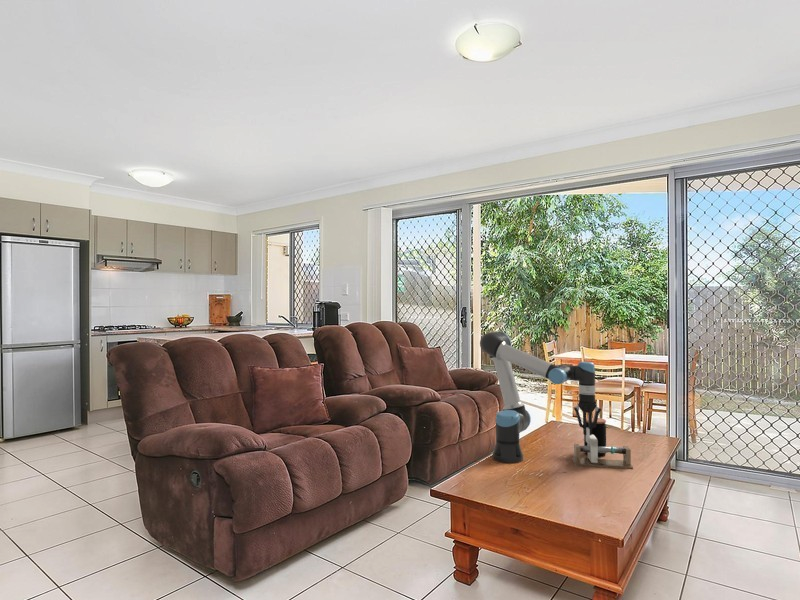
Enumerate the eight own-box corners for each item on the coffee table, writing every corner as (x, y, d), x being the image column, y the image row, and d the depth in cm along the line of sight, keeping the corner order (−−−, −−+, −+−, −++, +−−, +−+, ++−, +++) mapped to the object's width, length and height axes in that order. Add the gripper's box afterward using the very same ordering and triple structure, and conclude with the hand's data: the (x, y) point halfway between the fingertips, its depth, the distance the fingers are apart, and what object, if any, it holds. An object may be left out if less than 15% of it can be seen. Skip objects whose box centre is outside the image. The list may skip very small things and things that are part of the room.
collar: (591, 462, 244) (591, 439, 245) (587, 456, 254) (587, 434, 254) (597, 462, 244) (597, 439, 244) (593, 456, 254) (593, 434, 254)
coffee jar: (602, 451, 270) (602, 417, 270) (608, 457, 259) (608, 422, 259) (582, 451, 271) (581, 417, 271) (587, 456, 260) (587, 421, 260)
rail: (575, 465, 246) (575, 447, 246) (572, 459, 256) (572, 442, 256) (633, 468, 241) (632, 450, 241) (627, 462, 251) (627, 444, 251)
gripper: (574, 394, 247) (574, 443, 247) (602, 395, 245) (603, 444, 245) (572, 391, 255) (572, 439, 254) (599, 392, 252) (600, 440, 252)
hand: (587, 441), depth 249 cm, fingers closed
